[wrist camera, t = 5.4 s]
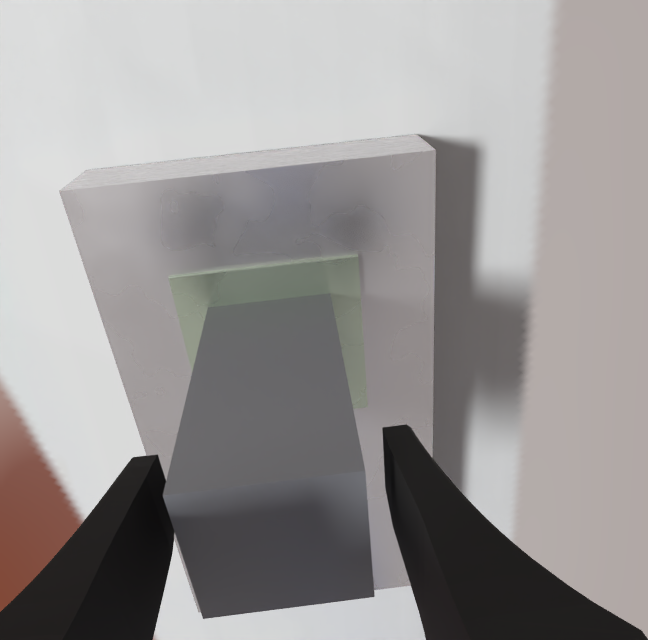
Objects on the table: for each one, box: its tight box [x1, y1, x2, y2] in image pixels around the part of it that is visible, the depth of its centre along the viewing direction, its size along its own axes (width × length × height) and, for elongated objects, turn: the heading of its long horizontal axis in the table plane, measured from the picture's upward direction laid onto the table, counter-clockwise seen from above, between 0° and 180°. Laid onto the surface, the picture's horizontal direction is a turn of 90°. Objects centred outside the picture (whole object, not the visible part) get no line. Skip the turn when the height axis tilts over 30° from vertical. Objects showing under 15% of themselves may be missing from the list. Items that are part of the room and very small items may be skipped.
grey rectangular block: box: [163, 293, 374, 619], centre depth 15 cm, size 4×4×8 cm
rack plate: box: [59, 134, 436, 612], centre depth 22 cm, size 20×11×3 cm, turn 5°
